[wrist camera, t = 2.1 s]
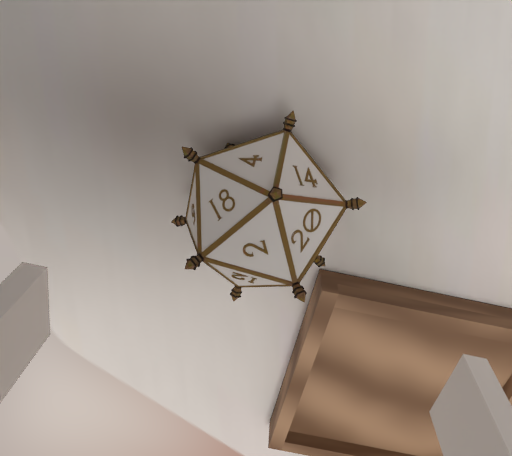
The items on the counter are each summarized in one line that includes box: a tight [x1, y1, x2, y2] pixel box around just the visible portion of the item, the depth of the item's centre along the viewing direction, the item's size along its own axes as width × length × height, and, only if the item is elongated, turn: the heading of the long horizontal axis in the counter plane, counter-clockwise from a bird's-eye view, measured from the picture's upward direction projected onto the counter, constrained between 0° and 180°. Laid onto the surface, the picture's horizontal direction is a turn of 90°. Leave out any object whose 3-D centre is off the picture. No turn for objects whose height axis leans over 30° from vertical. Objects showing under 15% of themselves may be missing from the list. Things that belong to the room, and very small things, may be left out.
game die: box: [172, 111, 367, 303], centre depth 21 cm, size 9×8×10 cm
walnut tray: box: [268, 269, 512, 456], centre depth 30 cm, size 15×15×2 cm
